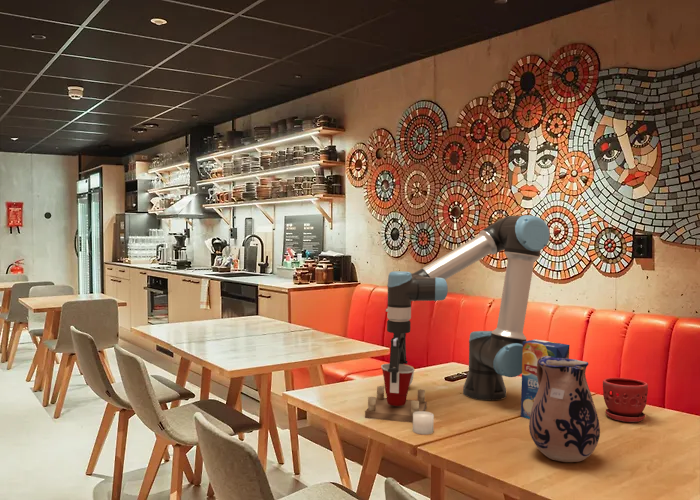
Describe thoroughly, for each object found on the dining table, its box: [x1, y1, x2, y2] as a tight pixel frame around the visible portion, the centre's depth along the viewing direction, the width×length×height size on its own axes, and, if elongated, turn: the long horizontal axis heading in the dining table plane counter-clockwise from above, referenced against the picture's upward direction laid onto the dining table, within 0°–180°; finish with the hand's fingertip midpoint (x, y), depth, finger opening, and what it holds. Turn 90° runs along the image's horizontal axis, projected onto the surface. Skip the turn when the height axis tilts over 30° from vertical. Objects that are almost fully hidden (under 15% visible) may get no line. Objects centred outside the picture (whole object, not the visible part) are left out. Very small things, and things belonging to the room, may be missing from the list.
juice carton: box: [520, 338, 570, 420], centre depth 193 cm, size 12×8×24 cm, turn 41°
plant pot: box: [602, 377, 649, 423], centre depth 195 cm, size 13×13×12 cm
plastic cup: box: [380, 363, 415, 406], centre depth 197 cm, size 11×11×12 cm
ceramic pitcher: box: [528, 356, 601, 463], centre depth 162 cm, size 18×21×25 cm
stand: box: [364, 385, 428, 423], centre depth 197 cm, size 17×17×6 cm
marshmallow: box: [412, 410, 435, 435], centre depth 179 cm, size 6×6×5 cm
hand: (397, 388), depth 197 cm, fingers closed on plastic cup, 11 cm apart
